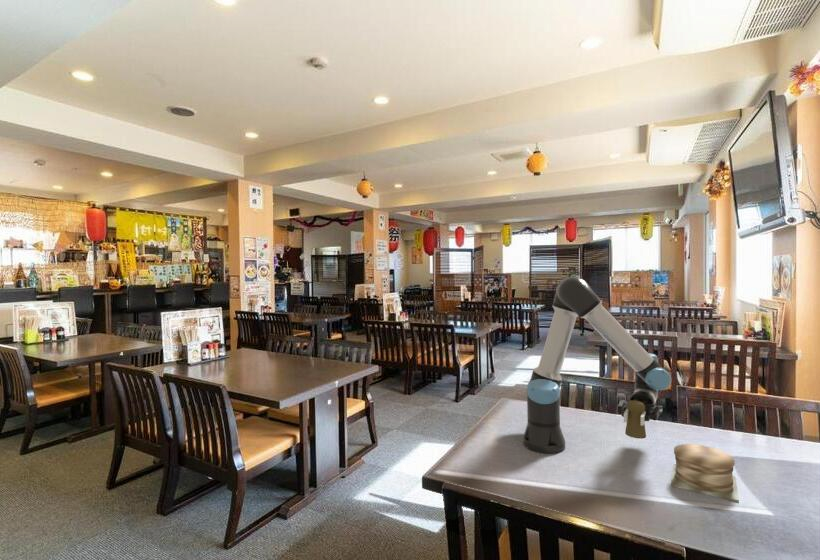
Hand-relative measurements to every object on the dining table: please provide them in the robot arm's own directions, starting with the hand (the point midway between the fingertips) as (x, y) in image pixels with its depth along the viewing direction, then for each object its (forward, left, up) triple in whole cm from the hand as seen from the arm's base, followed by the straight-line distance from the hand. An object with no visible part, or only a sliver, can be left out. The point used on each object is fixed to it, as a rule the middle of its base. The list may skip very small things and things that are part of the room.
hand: (633, 419), depth 130 cm
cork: (0, +5, -7) cm, 9 cm away
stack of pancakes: (+18, +7, -18) cm, 26 cm away
